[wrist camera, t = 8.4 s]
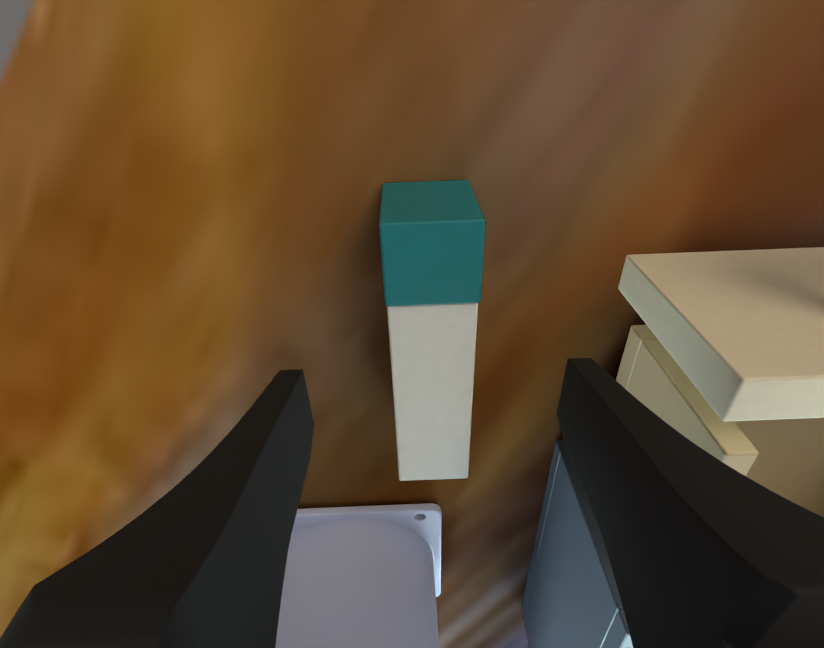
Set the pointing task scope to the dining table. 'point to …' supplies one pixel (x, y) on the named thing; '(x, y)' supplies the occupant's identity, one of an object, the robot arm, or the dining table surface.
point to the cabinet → (571, 571)
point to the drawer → (735, 358)
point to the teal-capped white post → (432, 320)
